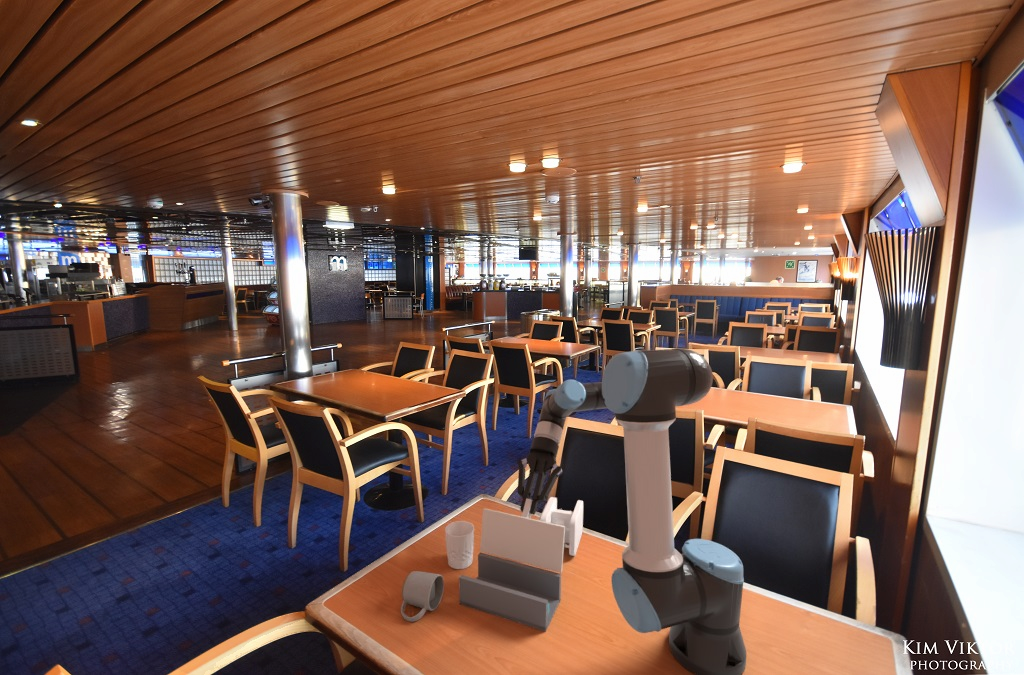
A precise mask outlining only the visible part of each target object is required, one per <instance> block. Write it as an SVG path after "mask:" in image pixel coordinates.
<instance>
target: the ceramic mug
mask: <svg viewBox="0 0 1024 675" xmlns="http://www.w3.org/2000/svg"><path fill="white" fill-rule="evenodd" d="M444 587H445V583H444V577H443V575H442V574H439V573H433V572H426V571H422V570H421V571H419V570H417V571H416V570H413V571H410V572H409V573H408V574H407V575H406V576H405V579H404V580H403V583H402V586H401V598H402V600H403V601H402V604H401V606H400V612H401V615H402V618H403V619H404V620H405V621H407V622H409V623H410V622H411V623H413V622H417V621H418V620H420V619H422V618H423V616H424V615H425V613H426V612H427V611H432V612H433V611H435V610H436V609H437V608H438V607H439V605H440V603H441V601H442V598H443V595H444V589H445V588H444ZM407 604H408V605H411V606H413V607H418V608H421V610H420V611H419V612H418V613H417V614H415V615H414V616H408V615H407V614H406V613H405V609H406V606H407Z"/></svg>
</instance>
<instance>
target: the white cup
mask: <svg viewBox="0 0 1024 675" xmlns="http://www.w3.org/2000/svg"><path fill="white" fill-rule="evenodd" d="M444 532H445V545H446V547H445V549H446V555H447V563H448V566H449V567H451V568H452V569H455V570H464V569H467V568H469V567H470V566H471V565H472V563H473V561H474V556H473V555H474V546H475V544H474V542H475V526H474V524H473V523H472V522H470V521H466V520H456V521H453V522H450V523H449V524H447V525H446V526H445V528H444Z"/></svg>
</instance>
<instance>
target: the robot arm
mask: <svg viewBox="0 0 1024 675" xmlns="http://www.w3.org/2000/svg"><path fill="white" fill-rule="evenodd" d="M713 382H714V376H713V370H712V367H711V366H710V364H709V362H708V360H707V359H705V357H703V355H701V354H700V353H699V352H696V351H694V350H691V349H688V348H681V347H680V348H679V347H678V348H676V347H675V348H670V349H669V348H668V349H665V348H664V349H652V350H651V349H649V350H636V349H635V350H632V351H626V352H621V353H617V354H614V355H613V356H612V357H611V358H610V359H609V360H608V363H607V364H606V366H605V367H604V370H603V374H602V379H601V381H596V382H585V383H581V382H580V381H578V380H575V379H566V380H565V381H563V382H562V383H561V384H559V385H558V386H557V387H556V388H553V389H549V390H548V391H547V392H546V395H545V397H544V399H543V400H542V401H543V402H542V408H541V411H540V415H539V417H538V422H537V424H536V427H535V431H534V434H533V436H534V438H532V442H531V446H530V448H529V449H530V450H529V453H528V454H527V456H525V458H523V459H521V458H518V459H517V460H516V462H517V465H518V476H517V477H518V480H517V494H518V496H519V497H520V498H522V502H521V504H520V507H519V510H520V511H521V512H522V514H521V516H522V517H526V518H531V517H532V515H535V514H536V511H537V508H538V504H539V503H540V502H541V503H542V502H546V501H547V500H548V497H549V495H550V493H551V492H552V489H553V487H554V485H555V484H556V482H557V480H558V478H559V477H561V475H562V474H563V472H564V471H563V469H562V467H561V466H560V465H558V464H557V455H558V451H559V448H560V447H559V446H560V445H559V444H560V442H561V440H562V435H563V431H564V429H565V428H564V427H565V424H566V420H567V418H568V417H569V416H570V415H571V414H573V413H575V412H584V411H593V410H594V411H595V410H604V409H608V410H609V411H610V412H612V413H614V419H615V421H616V422H617V423H619V425H621V426H622V428H623V446H624V447H623V449H624V463H625V467H624V468H625V485H626V488H625V489H626V506H627V525H628V526H627V527H628V542H629V543H628V546H627V547H626V548H625V549H623V551H622V553H621V560H622V567H617V568H616V569H614V570H613V573H612V574H611V588H612V593H613V596H614V599H615V602H616V604H617V607H618V609H619V611H620V613H621V614H622V616H623V618H624V620H625V621H626V622H627V625H629V626H630V628H632V629H633V630H634V631H636V632H638V633H641V634H648V633H653V632H658V633H659V632H661V630H665V629H668V628H669V631H668V632H669V633H668V646H669V649H670V652H671V653H672V655H673V657H674V659H676V661H677V662H678V663H679V664H680V665H682V667H684V669H686V670H688V671H689V672H690V673H692V674H694V675H742V674H743V673H744V672H745V670H746V667H747V666H746V665H747V650H746V645H745V642H744V638H743V634H742V632H741V627H740V622H741V621H740V619H741V611H742V610H741V609H742V600H743V599H742V598H743V588H744V582H745V579H744V565H743V562H742V560H741V559H740V557H739V556H738V555H737V554H736V553H735V552H734V551H733V550H731V549H729V547H726V546H725V545H722V544H721V543H718V542H716V541H712V540H708V539H703V538H691V539H687V540H686V541H685V542H683V543H684V544H683V546H682V547H681V551H682V552H681V553H680V552H679V551H678V550H677V549H676V548H675V536H674V535H675V534H674V515H673V514H674V513H673V498H672V496H673V494H672V480H671V479H672V477H671V476H672V474H671V459H670V458H671V455H670V439H669V438H670V436H669V435H670V434H669V427H670V426H671V425H672V424H673V423H674V422H675V421H676V419H677V413H676V411H677V410H676V407H682V406H690V405H692V404H695V403H697V402H700V401H701V400H703V399H704V398H705V397H706V396H707V395H708V394H709V392H710V390H711V388H712V386H713ZM527 465H528V467H529V474H528V477H527V480H526V468H527ZM550 471H552V472H551V473H550V475H549V477H548V479H547V480H546V483H545V485H544V482H545V479H546V477H547V474H548V473H549V472H550ZM535 481H536V482H535ZM533 489H534V490H533ZM532 492H533V493H532ZM531 519H532V518H531Z"/></svg>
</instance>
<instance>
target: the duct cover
mask: <svg viewBox="0 0 1024 675" xmlns="http://www.w3.org/2000/svg"><path fill="white" fill-rule="evenodd" d="M481 520H482V521H481V533H480V545H479V546H480V550H479V551H480V552H481V553H484V554H488V555H492V556H496V557H499V558H503V559H507V560H511V561H514V562H518V563H522V564H526V565H529V566H533V567H537V568H541V569H544V570H548V571H552V572H555V573H559V574H561V573H563V565H564V551H565V549H564V545H565V542H564V537H565V526H562V525H557V524H553V523H549V522H544V521H540V520H539V519H534V518H526V517H522V515H516V514H512V513H508V512H503V511H499V510H496V509H495V510H494V509H489V508H487V507H484V508H482V519H481Z"/></svg>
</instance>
